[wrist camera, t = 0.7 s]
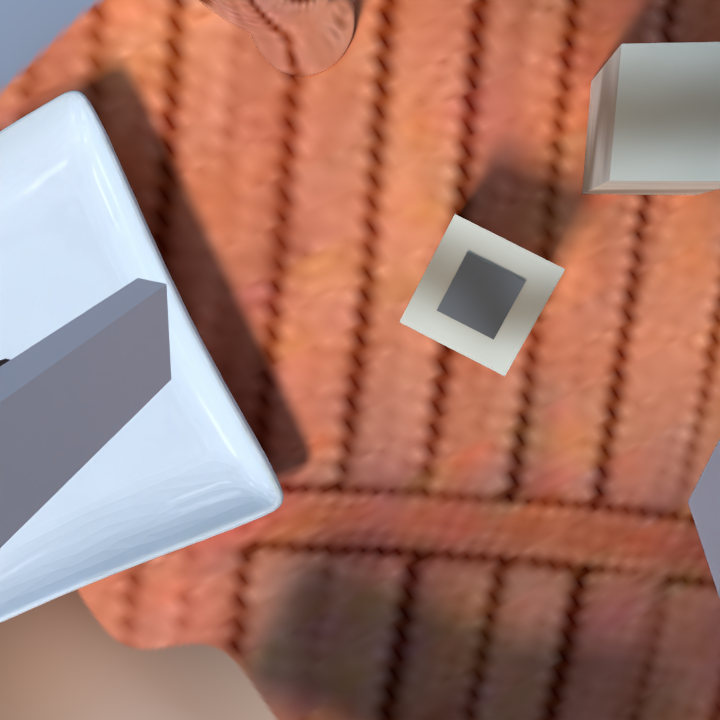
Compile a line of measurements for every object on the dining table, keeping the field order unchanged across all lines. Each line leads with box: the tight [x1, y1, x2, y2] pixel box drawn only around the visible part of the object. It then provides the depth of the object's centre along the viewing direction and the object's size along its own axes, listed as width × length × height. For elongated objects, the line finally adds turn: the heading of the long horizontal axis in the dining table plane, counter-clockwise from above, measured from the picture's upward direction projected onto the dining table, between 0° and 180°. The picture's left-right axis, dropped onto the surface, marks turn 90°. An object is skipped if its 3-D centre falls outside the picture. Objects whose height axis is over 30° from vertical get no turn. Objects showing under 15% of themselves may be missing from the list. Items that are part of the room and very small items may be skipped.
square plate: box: [0, 91, 284, 622], centre depth 40 cm, size 27×27×4 cm
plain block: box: [582, 42, 720, 195], centre depth 31 cm, size 6×6×6 cm
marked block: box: [400, 214, 565, 376], centre depth 33 cm, size 6×6×6 cm
